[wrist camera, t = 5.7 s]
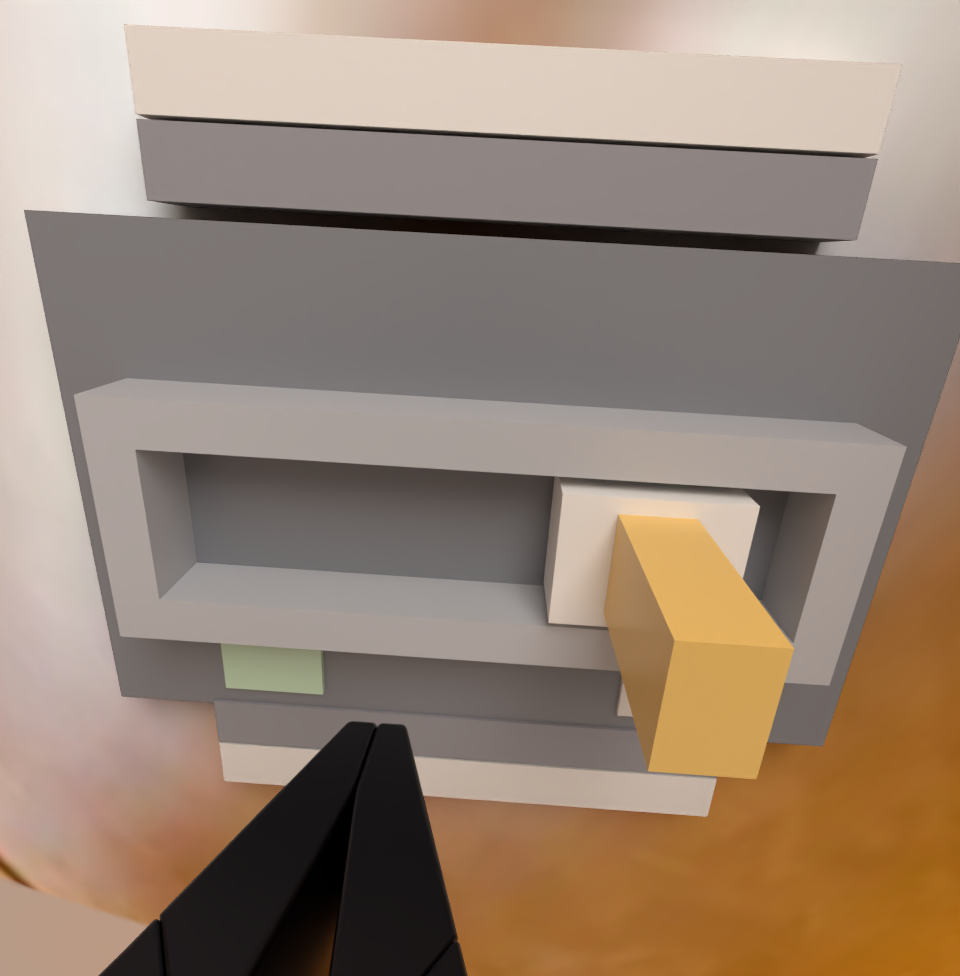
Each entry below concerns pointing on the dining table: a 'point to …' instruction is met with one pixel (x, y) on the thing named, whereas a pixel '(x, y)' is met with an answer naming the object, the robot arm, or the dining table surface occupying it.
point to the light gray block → (468, 757)
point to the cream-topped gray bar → (508, 132)
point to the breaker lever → (672, 615)
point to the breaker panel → (465, 448)
